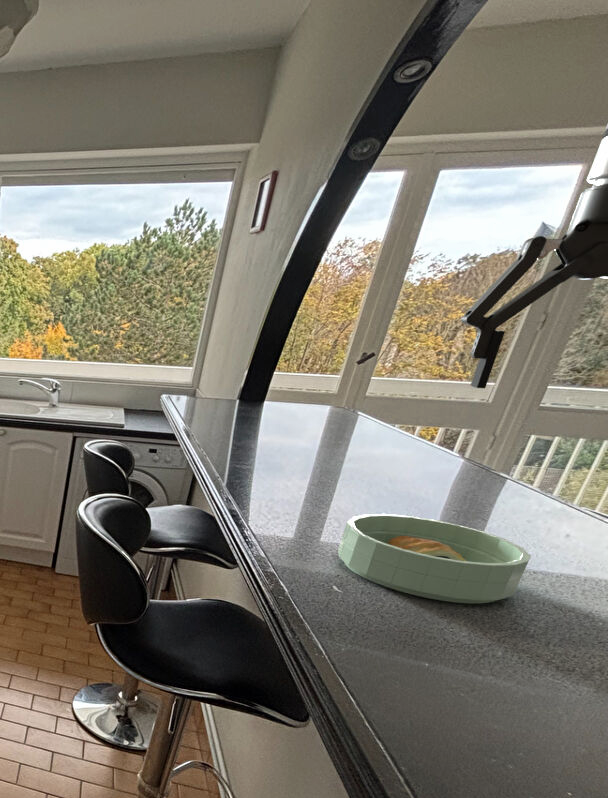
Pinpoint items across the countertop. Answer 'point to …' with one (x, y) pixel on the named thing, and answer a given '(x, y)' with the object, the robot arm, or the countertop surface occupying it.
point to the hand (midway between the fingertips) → (555, 390)
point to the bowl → (433, 559)
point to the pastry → (425, 547)
